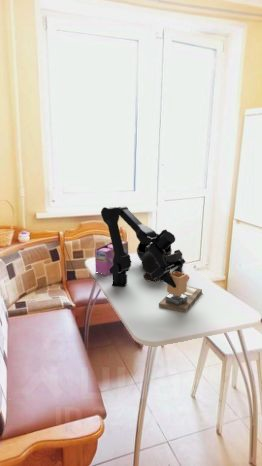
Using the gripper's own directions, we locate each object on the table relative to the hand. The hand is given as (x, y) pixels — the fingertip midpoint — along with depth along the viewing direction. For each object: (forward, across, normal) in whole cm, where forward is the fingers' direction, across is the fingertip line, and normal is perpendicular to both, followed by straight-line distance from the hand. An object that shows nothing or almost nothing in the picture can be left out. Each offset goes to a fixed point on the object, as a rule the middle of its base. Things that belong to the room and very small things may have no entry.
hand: (179, 285), depth 141 cm
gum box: (-31, +14, +46) cm, 57 cm away
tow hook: (-5, +28, +19) cm, 34 cm away
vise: (+5, +2, +7) cm, 8 cm away
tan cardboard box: (+2, 0, +4) cm, 4 cm away
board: (+5, +6, +9) cm, 12 cm away
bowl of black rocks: (-21, +33, +35) cm, 52 cm away
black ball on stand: (-13, +19, +27) cm, 35 cm away
